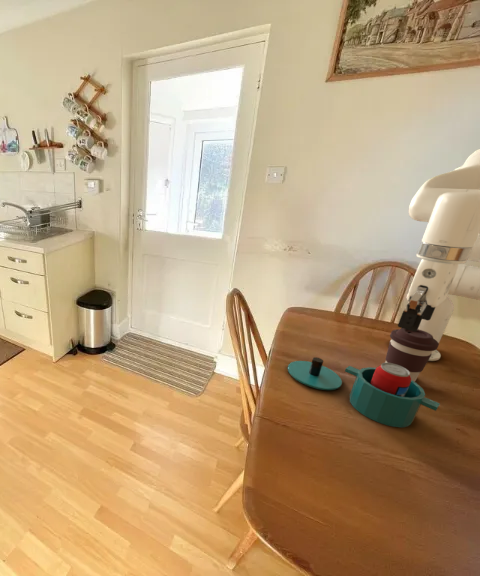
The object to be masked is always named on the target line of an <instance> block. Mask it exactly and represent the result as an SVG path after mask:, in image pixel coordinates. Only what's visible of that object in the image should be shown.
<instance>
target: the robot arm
mask: <svg viewBox="0 0 480 576" xmlns="http://www.w3.org/2000/svg"><path fill="white" fill-rule="evenodd" d="M408 215H409V217H410V218H411V219H412V220H414V221H417V222H423V223H427V225H426V227H425V231H424V233H423V236H422V238H421V240H420V244H419V247H418V248H417V252H416V255H415V256H416V257H417V258H419V259H421V260H420V262H419V264H418V266H417V269H416V271H415V274H414V276H413V278H412V281H411V284H410V287H409V289H408V292H407V294H406V300H407V301H408V302H407V304H406V305H405V307H404V310H403V311H402V313H401V316H400V319H399V321H398V324H397V327H398V328H399V329H401V328H404V329H407V330H410V331H414V332H416V331H417V330H418V329H419V330H423V331H425V332H427V333H429V334H431V335H432V336H433V339H435V340H436V341H437V342H438V343H439V344H440V342H441V339H442V338H443V335H444V333H445V330H446V329H447V326H448V324H449V322H450V319H451V317H452V315H453V313H454V311H455V310H454V309H455V306H454V303H453V301H452V300H451V297H450V295H451V296H455V297H456V296H457V297H461V298H466V299H471V300H476V301H480V266H476V265H469V264H466V263H467V261H469V262H476V263H477V262H478V263H480V148H478V149H476V150H474V151H473V152H472V153H471V154H470V155H469V156H468V157H467V158H466V160H465V161H464V163H463V164H462V165H461V166H459V167H458V166H457V167H456V168H454V170H451V171H447V172H443V173H441V174H437V175H435V176H433V177H430V178H429V179H427V180H426V181H424V183H422V185H421V186H420V187H419V189H418V190H417V191H416V193H415V194H414V196H412V199H411V200H410V204H409V206H408ZM390 342H391V340H390V341H389V344H390ZM389 344H388V345H389ZM441 356H442V355H441V353H440V351H439V350H437V349H436V350H434V351H432V353H431V357H430V358H429V360H428V362H435V361H439V360H440V359H441Z"/></svg>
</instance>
